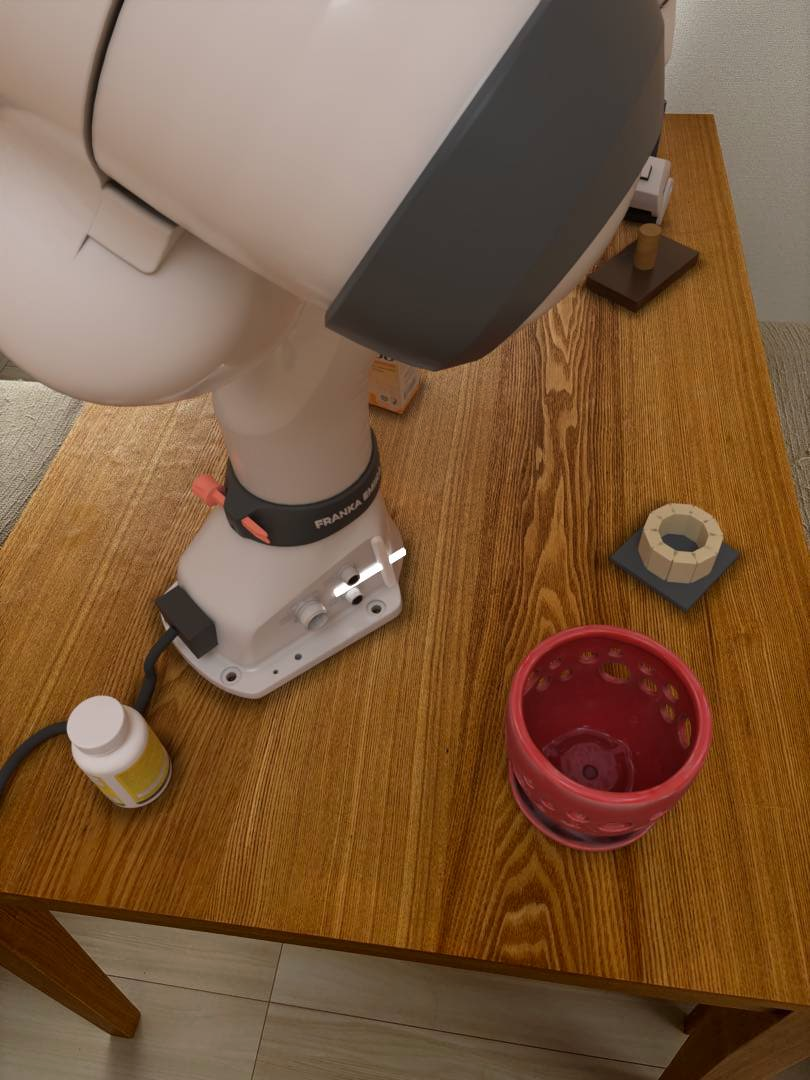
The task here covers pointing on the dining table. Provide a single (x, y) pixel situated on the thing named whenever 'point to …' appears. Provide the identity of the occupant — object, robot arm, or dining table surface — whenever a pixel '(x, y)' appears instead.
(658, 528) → the tape roll
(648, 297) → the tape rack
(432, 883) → the dining table surface
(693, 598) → the mat
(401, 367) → the supplement box
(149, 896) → the dining table surface
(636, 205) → the grey boxy gadget
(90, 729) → the supplement bottle
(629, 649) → the flower pot
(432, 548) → the dining table surface
